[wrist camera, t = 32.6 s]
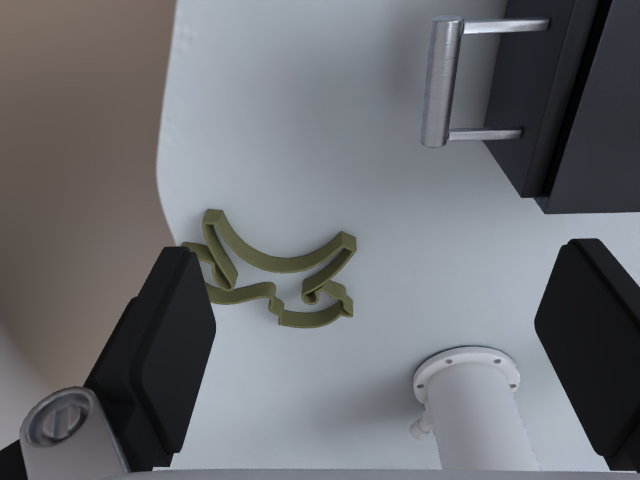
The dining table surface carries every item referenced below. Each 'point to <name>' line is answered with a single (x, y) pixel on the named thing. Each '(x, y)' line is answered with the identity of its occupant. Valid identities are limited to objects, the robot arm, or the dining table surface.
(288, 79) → the dining table surface
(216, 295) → the cookie cutter
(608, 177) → the dark grey metal box
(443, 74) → the drawer
